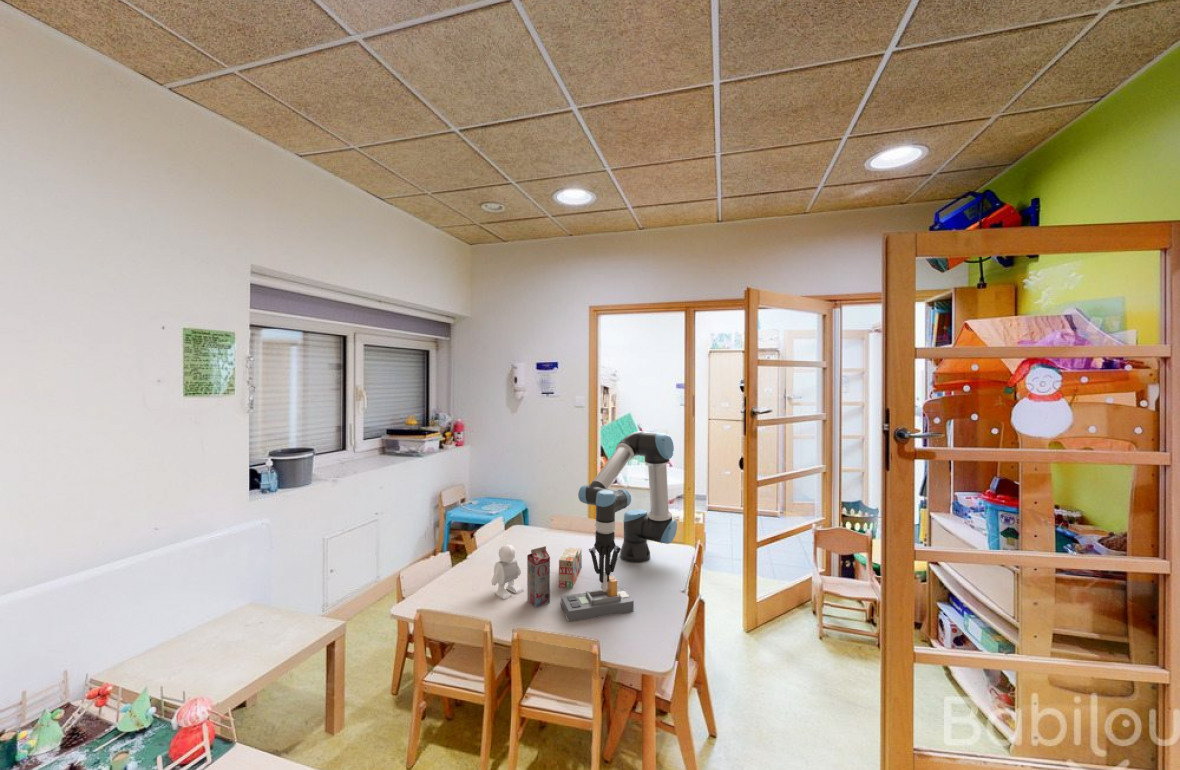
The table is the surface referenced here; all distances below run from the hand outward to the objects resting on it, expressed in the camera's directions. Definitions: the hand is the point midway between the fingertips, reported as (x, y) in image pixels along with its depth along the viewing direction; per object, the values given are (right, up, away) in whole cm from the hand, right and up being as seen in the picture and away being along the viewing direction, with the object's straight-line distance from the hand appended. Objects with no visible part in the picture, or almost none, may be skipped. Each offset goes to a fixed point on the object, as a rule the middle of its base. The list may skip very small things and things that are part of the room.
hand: (604, 589), depth 180 cm
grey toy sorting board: (-3, -7, -1) cm, 8 cm away
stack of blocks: (-14, -7, +27) cm, 31 cm away
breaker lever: (+3, -3, +1) cm, 4 cm away
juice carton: (-26, -7, +4) cm, 28 cm away
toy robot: (-41, -7, +13) cm, 43 cm away
